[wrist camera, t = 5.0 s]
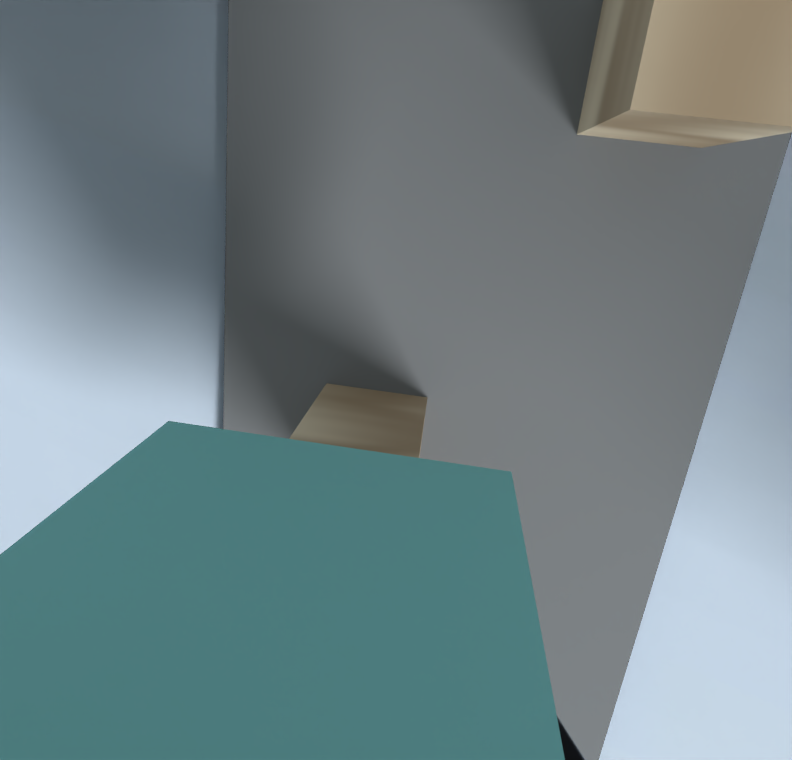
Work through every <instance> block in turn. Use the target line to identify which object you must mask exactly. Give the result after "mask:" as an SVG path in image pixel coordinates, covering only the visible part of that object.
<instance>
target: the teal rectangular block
mask: <svg viewBox="0 0 792 760" xmlns="http://www.w3.org/2000/svg"><path fill="white" fill-rule="evenodd" d="M0 760H565V757H564V752H563V747H562V741H561V736H560V730H559V725H558V720H557V714H556V709H555V703H554V698H553V693H552V687H551V682H550V677H549V671H548V666H547V660H546V655H545V650H544V644H543V639H542V633H541V628H540V623H539V617H538V612H537V607H536V601H535V596H534V590H533V585H532V580H531V574H530V569H529V563H528V558H527V553H526V547H525V542H524V537H523V531H522V526H521V520H520V515H519V510H518V504H517V499H516V493H515V488H514V483H513V477H512V472H510V471H504V470H497V469H490V468H483V467H476V466H470V465H463V464H456V463H449V462H443V461H436V460H429V459H422V458H415V457H409V456H402V455H395V454H388V453H382V452H375V451H368V450H361V449H354V448H348V447H341V446H334V445H327V444H321V443H314V442H307V441H300V440H294V439H287V438H280V437H273V436H266V435H260V434H253V433H246V432H239V431H233V430H226V429H219V428H212V427H205V426H199V425H192V424H185V423H178V422H172V421H168V422H167V423H166V424H164V425H163V426H162V427H161V428H159V429H158V430H157V431H156V432H154V433H153V434H152V435H150V436H149V437H148V438H147V439H145V440H144V441H143V442H142V443H140V444H139V445H138V446H137V447H135V448H134V449H133V450H132V451H130V452H129V453H128V454H127V455H125V456H124V457H123V458H121V459H120V460H119V461H118V462H116V463H115V464H114V465H113V466H111V467H110V468H109V469H108V470H106V471H105V472H104V473H103V474H101V475H100V476H99V477H98V478H96V479H95V480H94V481H92V482H91V483H90V484H89V485H87V486H86V487H85V488H84V489H82V490H81V491H80V492H79V493H77V494H76V495H75V496H74V497H72V498H71V499H70V500H69V501H67V502H66V503H65V504H63V505H62V506H61V507H60V508H58V509H57V510H56V511H55V512H53V513H52V514H51V515H50V516H48V517H47V518H46V519H45V520H43V521H42V522H41V523H40V524H38V525H37V526H36V527H35V528H33V529H32V530H31V531H29V532H28V533H27V534H26V535H24V536H23V537H22V538H21V539H19V540H18V541H17V542H16V543H14V544H13V545H12V546H11V547H9V548H8V549H7V550H6V551H4V552H3V553H2V554H0Z"/></svg>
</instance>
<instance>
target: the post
mask: <svg viewBox="0 0 792 760" xmlns="http://www.w3.org/2000/svg"><path fill="white" fill-rule="evenodd" d="M427 398H428V397H421V396H414V395H407V394H400V393H392V392H385V391H378V390H371V389H363V388H356V387H349V386H342V385H335V384H327V383H326V385H325V386H324V388H323V389H322V391H321V392H320V394H319V395H318V397H317V398H316V400H315V401H314V403H313V404H312V406H311V407H310V409H309V410H308V412H307V413H306V414H305V416H304V417H303V419H302V420H301V422H300V423H299V425H298V426H297V428H296V429H295V431H294V432H293V434H292V435H291V437H290V438H289V439H294V440H300V441H307V442H314V443H321V444H327V445H334V446H341V447H348V448H354V449H361V450H368V451H375V452H382V453H388V454H395V455H402V456H409V457H415V458H419V457H420V449H421V442H422V435H423V427H424V420H425V413H426V405H427Z"/></svg>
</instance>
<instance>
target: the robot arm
mask: <svg viewBox="0 0 792 760" xmlns="http://www.w3.org/2000/svg"><path fill="white" fill-rule="evenodd" d="M557 720H558V725H559V730H560V736H561V741H562V747H563V752H564V757H565V760H585V758H584V757H583V755H582V754H581V752H580V751H579V749H578V747H577V746H576V744H575V743H574V741H573V740H572V738H571V736H570V735H569V733H568V732H567V730H566V729H565V727H564V726H563V724H562V722H561V721H560V719H559V718H558V716H557Z"/></svg>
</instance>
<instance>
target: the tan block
mask: <svg viewBox="0 0 792 760" xmlns="http://www.w3.org/2000/svg"><path fill="white" fill-rule="evenodd" d="M791 132H792V0H603V4H602V9H601V14H600V19H599V24H598V29H597V34H596V39H595V45H594V50H593V55H592V60H591V65H590V70H589V75H588V80H587V85H586V91H585V96H584V101H583V106H582V111H581V116H580V121H579V126H578V131H577V135H587V136H596V137H605V138H614V139H623V140H633V141H642V142H651V143H660V144H670V145H679V146H688V147H697V148H704V147H709V146H715V145H721V144H727V143H733V142H738V141H744V140H750V139H756V138H762V137H768V136H773V135H779V134H785V133H791Z"/></svg>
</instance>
